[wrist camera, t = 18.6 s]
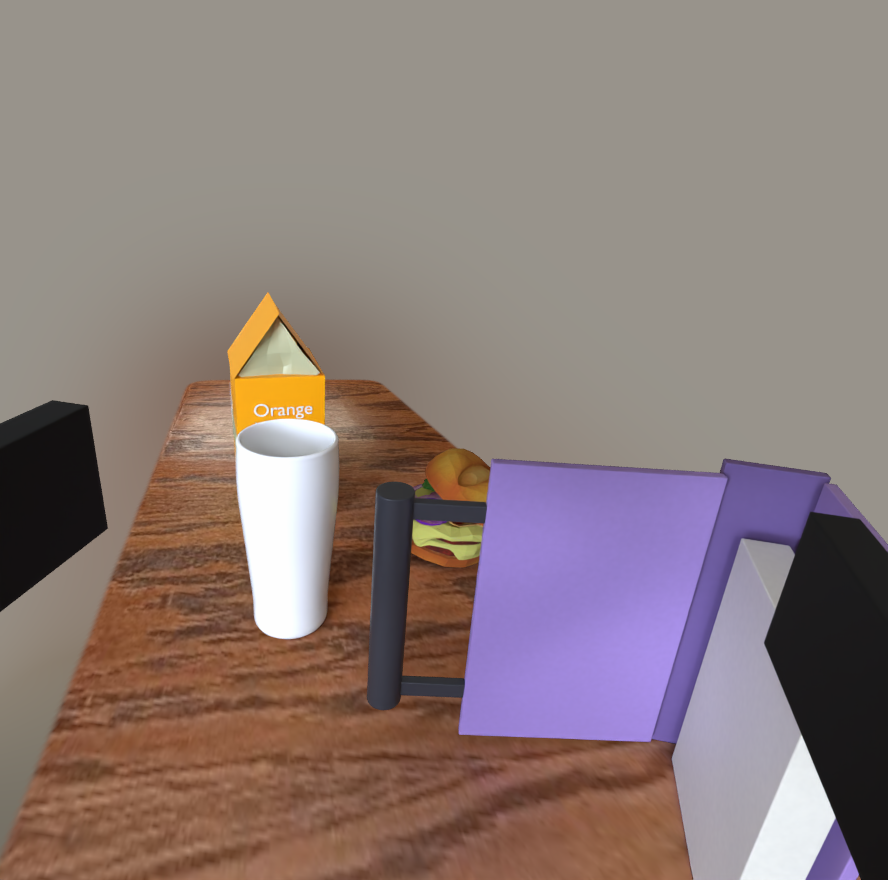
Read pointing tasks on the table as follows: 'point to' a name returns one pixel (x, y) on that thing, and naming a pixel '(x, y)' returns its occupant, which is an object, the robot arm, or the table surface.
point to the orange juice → (273, 373)
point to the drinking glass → (288, 520)
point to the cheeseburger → (451, 480)
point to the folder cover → (554, 596)
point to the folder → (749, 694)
